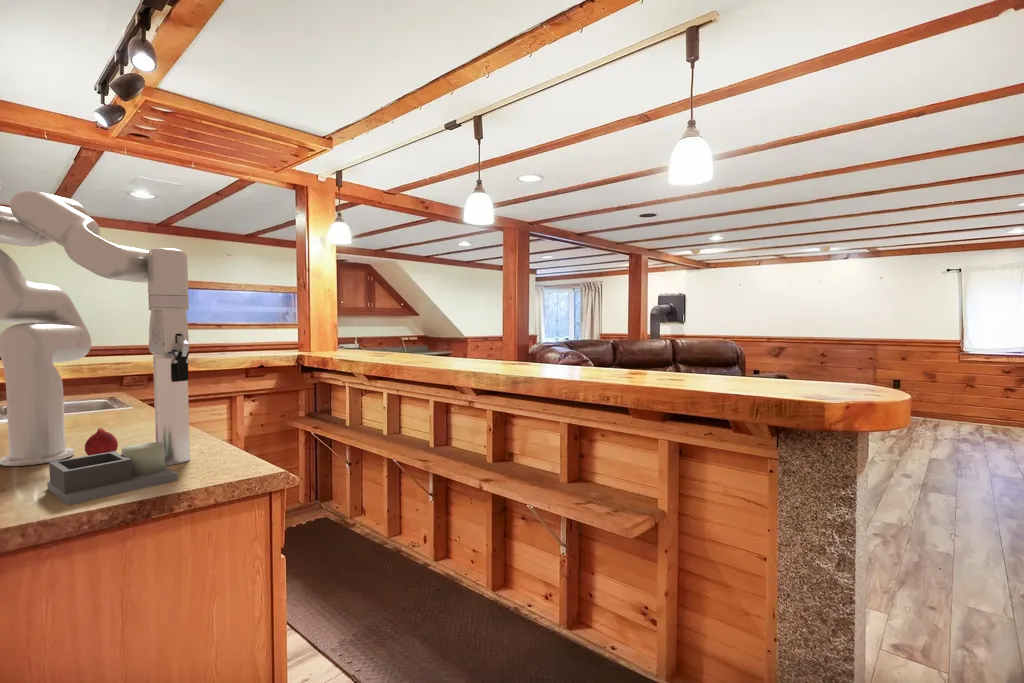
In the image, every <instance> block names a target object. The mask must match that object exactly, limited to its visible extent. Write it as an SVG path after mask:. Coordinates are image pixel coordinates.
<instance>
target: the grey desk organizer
mask: <svg viewBox="0 0 1024 683" xmlns="http://www.w3.org/2000/svg"><path fill="white" fill-rule="evenodd" d="M48 465H49V466H48V467H49V468H48V469H49V480H47V485H46V486H47V490H48V491H49V492H51V493H52V494H54V495H55V496H56V497H57V498H58V499H60V500H61V501H63V502H64V503H65V504H66V505H68V506H70V505H75V504H78V503H83V502H87V501H91V500H95V499H97V500H98V499H101V498H104V497H109V496H113V495H118V494H122V493H127V492H131V491H136V490H141V489H144V488H149V487H153V486H158V485H162V484H167V483H170V482H175V481H178V472H176V471H174V470H172V469H169V468H167V467H166V465H165V459H164V443H158V442H156V441H155V442H142V443H135V444H131V445H126V446H124V447H122V448H121V453H120V452H116V451H113V452H107V453H101V454H95V455H89V456H88V455H85V456H79V457H78V456H77V457H73V458H72V457H71V458H65V459H61V460H57V461H53V462H48Z"/></svg>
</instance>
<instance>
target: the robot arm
mask: <svg viewBox="0 0 1024 683" xmlns="http://www.w3.org/2000/svg"><path fill="white" fill-rule="evenodd" d="M100 234H101V229H100V225H99V224H98V223H97V222H96V220H95V219H94V218H92V217H90V215H89V213H88V211H87V209H86V208H85V207H84V206H83V205H82V204H81V203H79V202H78V201H76V200H73V199H70V198H67V197H62V196H59V195H55V194H51V193H47V192H43V191H38V190H25V191H21V192H17V193H16V194H15V195H14V196H13V197H11V199H10V201H9V206H3V205H0V244H6V245H13V246H18V247H19V246H20V247H37V246H42V245H46V244H50V243H56V244H58V245H60V246H61V247H63V249H64V252H65V254H67V257H68V258H69V259H70V260H72V261H73V262H74V263H76V265H78V266H80V267H82V268H84V269H86V270H88V271H89V272H91V273H93V274H95V275H97V276H99V277H101V278H105V279H110V280H113V281H123V282H125V281H126V282H134V283H143V284H144V283H147V295H148V296H147V297H148V298H147V299H148V300H147V301H148V311H150V316H149V325H148V329H149V330H148V350H149V352H150V353H151V354H153V357H152V359H153V358H154V357H155V356H154V354H161V355H166V354H167V353H168V352H169V353H170V356H171V359H172V361H173V363H172V364H171V381H173V382H177V381H187V380H188V381H189V378H190V377H189V360H190V358H189V355H190V352H189V349H190V342H189V340H190V339H189V325H188V318H187V317H188V316H187V312H189V310H190V308H189V307H190V305H189V302H190V301H189V269H188V267H189V265H188V256H187V254H186V252H184V251H183V250H181V249H177V248H167V247H163V248H162V247H158V248H157V247H155V248H151V249H148V250H146V249H142V248H136V247H131V246H126V245H118V244H115V243H112V242H110V241H108V240H106V239H104V238H102V237H100ZM0 322H3V323H16V324H12V325H11V326H8V327H6V328H5V329H4V330H3V331H1V333H0V359H1V363H2V367H3V371H4V379H5V390H6V391H5V393H6V410H7V411H6V412H7V434H8V453H9V454H8V455H7V454H6V455H5V456H3V457H0V466H4V467H5V466H6V467H22V466H33V465H40V464H46V463H48V464H49V462H54V461H60V460H66V459H69V458H70V457H72V456H73V455H75V449H74V448H72V447H66V430H65V429H66V426H65V403H64V400H65V399H64V385H63V378H62V375H60V373H59V371H58V369H57V368H56V366H55V364H54V363H63V362H72V361H77V360H78V361H79V360H80V359H83V358H84V357H86V356H87V355H88V354H89V352H90V351H91V349H92V348H91V347H92V338H91V335H90V332H89V329H88V328H87V326H86V324H85V322H84V321H83V319H82V316H81V315H80V313H79V311H78V309H77V308H76V306H75V304H74V302H73V301H72V299H71V297H70V296H69V295H68V294H67V293H66V292H65V291H64V290H62V288H60V287H59V286H56V285H52V284H48V283H39V282H32V281H29V280H27V279H26V278H25V276H24V275H23V272H21V270H20V268H19V266H18V265H17V263H16V261H15V260H14V259H13V258H12V257H11V256H10V255H9V254H8V253H6V252H5V251H4V250H3V249H2V248H0ZM176 355H177V357H176Z"/></svg>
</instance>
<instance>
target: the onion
mask: <svg viewBox="0 0 1024 683" xmlns="http://www.w3.org/2000/svg"><path fill="white" fill-rule="evenodd" d="M84 444H85V445H84V451H85V454H86V456H89V455H95V454H101V453H107V452H113V451H115V452H116V451H117V450H118V446H119V442H118V439H117V438H116V437H115V435H114V434H112V433H111V432H108V431H106V430H105V429H104V428H103V426H102V427H98V428H97V431H96V432H95V433H94V434H92V435H91V436H90V437H88V438H87V440H86V442H85V443H84Z"/></svg>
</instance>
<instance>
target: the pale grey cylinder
mask: <svg viewBox="0 0 1024 683" xmlns="http://www.w3.org/2000/svg"><path fill="white" fill-rule="evenodd" d="M154 356H155V357H154ZM153 357H154V358H153ZM153 357H152V359H153V360H152V361H153V362H152V363H153V364H152V365H153V367H152V368H153V393H154V394H153V395H154V396H153V397H154V399H153V400H154V401H153V402H154V427H155V428H154V432H155V434H154V435H155V442H158V443H164V459H165V466H170V465H171V466H172V465H178V464H183V463H186V461H187V462H188V461H190V460H191V452H190V451H191V447H190V443H191V442H190V421H189V420H190V409H189V408H190V407H189V405H190V404H189V379H188V380H187V381H177V382H173V381H171V364H172V363H173V361H172V359H171V356H170V353H169V352H168V353H167V354H166V355H161V354H153ZM176 357H177V355H176Z"/></svg>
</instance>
